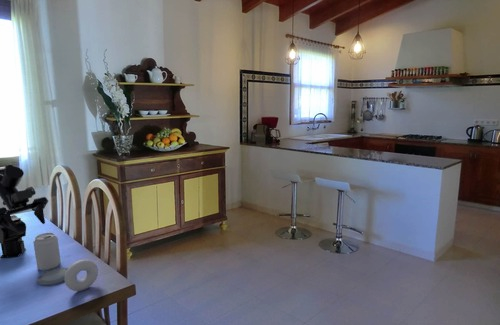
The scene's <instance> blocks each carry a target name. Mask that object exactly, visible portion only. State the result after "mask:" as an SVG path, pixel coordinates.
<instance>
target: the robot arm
mask: <svg viewBox="0 0 500 325" xmlns="http://www.w3.org/2000/svg"><path fill="white" fill-rule="evenodd" d="M24 174H25V173H24V170H23V169H22V168H20V167H18V166H15V165H13V164H6V165H5V166H0V198H1V200H2V205H3V206H5V207H3V206H2V207H0V247H1V253H2V254H1V255H0V258H1V259H3V258H18V257H20V256H21V255H22V254H23V253H24V252H25V251H26V250H27V249H26V247H25V242H24V240H23V237H26V235H27V234H26V233H27V224H26V223H25V222H24V220H22V218H20V217H19V216H17V215H15V214H17V213H18V214H19V213H21V212H25V211H28V210H31V211H32V212H33V214H34V216H35V217H36V218H37V219H38V221H39V222H40V223H41V224H42V225H44V224H46V219H45V214H44V209H45V207H47V205H48V203H49V200H48V198H47V197H46V196H41V197H36V198H34V199H33V201H32V202H31V203H29V202H30V200H29V199H31V198H33V196H35V195H36V193H37V192H36V189H35V188H34V187H33V186H29V187H26V188H25V189H24V190H18V188H17V187H18V185H19V184H20V182H21V181H22V179H23V176H24Z"/></svg>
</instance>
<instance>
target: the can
mask: <svg viewBox="0 0 500 325" xmlns="http://www.w3.org/2000/svg"><path fill="white" fill-rule="evenodd" d="M32 243H33V248H34V249H33V250H34V255H35V262H36V263H35V264H36V268H37V269H38V270H41V271H45V272H46V271H49V270H52V269H56V268H58V266H59V265H61V255H60V247H59V246H60V245H59V238H58V236H57V235H56V233H54V232H44V233H40V234H38V235H36V236H35V237H34V240H33V241H32Z"/></svg>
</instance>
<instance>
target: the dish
mask: <svg viewBox="0 0 500 325" xmlns="http://www.w3.org/2000/svg"><path fill="white" fill-rule="evenodd" d="M68 268H69V267H56V268H54V269H51V270H46V271H45V272H43V273H41V274H40V275H38V277H37V283H38V285H40V286H42V287H43V286H45V287H48V286H49V287H50V286H54V285H55V286H56V285H58V284H61V283H65V281H64V280H65V274H66V271H67V270H68Z"/></svg>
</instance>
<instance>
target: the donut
mask: <svg viewBox="0 0 500 325" xmlns="http://www.w3.org/2000/svg"><path fill="white" fill-rule="evenodd" d="M67 268H68V270H67V271H66V274H65V280H64V283H65V286H66V287H67V288H68V289H69V290H71V291H73V292H81V291H85V290H87V289H88V288H90V287H91V286H93V284H94V283H96V281H97V279H98V278H97V277H98V276H99V268H98V266H97V264H96V263H95V261H93V260H91V259H86V258H85V259H80V260H77V261H75V262H74V263H72V264H71V265H70V266H69V267H67ZM82 271H85V272H86V275H85V277H83V278H82V279H78V277H77V276H78V274H79V273H80V272H82Z"/></svg>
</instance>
